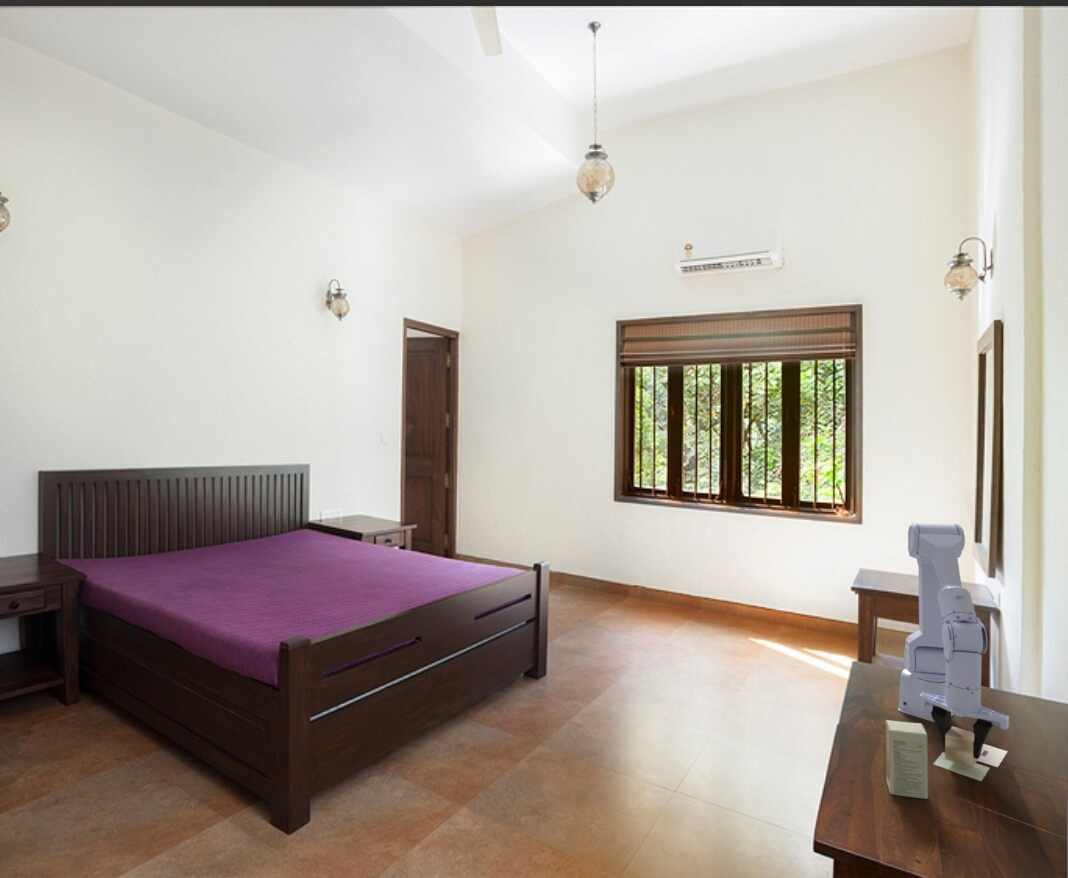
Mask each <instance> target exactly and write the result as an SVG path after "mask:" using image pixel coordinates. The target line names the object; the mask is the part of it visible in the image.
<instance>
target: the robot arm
mask: <svg viewBox="0 0 1068 878" xmlns="http://www.w3.org/2000/svg"><path fill="white" fill-rule="evenodd" d="M965 544H966V539H965V531H964V529H963V527H962V526H961V525H960V524H958V523H955V524H946V523H945V524H944V523H942V524H941V523H917V522H912V523H911V524H910V525H909V527H908V530H907V550H908V555H909V557H911V558H914V559H916V562H917V566H918V620H919V621H918V625H919V627H918V629H917V630H916V631H914V632H913V633H911V634H909V635H908V636H906V638H905V643H904V644H905V646H904V651H903V652H904V653H903V661H904V666H905V668H904V669H903V670H902V672H901V674H900V676H899V678H900V679H899V687H898V688H899V689H898V690H899V691H898V693H899V694H898V708H897V711H898V712H900V713H903V714H907V715H910V716H913V717H916V718H918V719H919V718H920V719H923V720H927V721H930V722H933V723H935V726H936V727H937V729H938V732H939V735H940V740H941V742H942V748H943V749H945V734H946V733H947V732H948V731H949V730H950V728H951V724H952V723H951V721H952V717H953V716H956V717H960V718H964V717H966V718H969V719H972V720H973V719H974V720H976V721H975V722H974V723H973V725H972V728H973V729H972V730H973V733H974V758H976V759H978V758H979V757H980V755H981V750H982V746H983V744H985V741H986V738H987V737H988V734H989V733H990V732H991V730H992V728H993V727H994V726H996V727H997V726H998V727H999V729H1002V730H1005V731H1006V730H1008V728H1009V727H1010V726H1009V725H1010V722H1009V721H1010V716H1009V715H1006V714H1002V713H999V712H997V711H995V710H992V709H990V708H988V707H985V706H983V705H982V704H981V702H982V701H981V699H982V698H981V697H982V696H981V695H982V661H983V659H982V657H983V656H982V655H984V654H985V653H987V650H988V634H987V630H986V628H985V627H986V626H985V625H984V623H983V622H982V620H981V618H980V617H977V615H976V610H975V607H974V606H975V605H974V603H973V599H972V596H971V593H970V591H969V590H968V589H967V588H964V587H962V579H961V574H960V566H959V558H961V555H962V553H963V551H964V548H965Z"/></svg>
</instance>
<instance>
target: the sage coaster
mask: <svg viewBox="0 0 1068 878" xmlns="http://www.w3.org/2000/svg"><path fill="white" fill-rule="evenodd" d="M933 765H934V766H936V767H938V768H939V767H940V768H942V769H944V770H945V769H946V770H947V771H951V772H954V773H957V774H959V775H962V776H965V777H968V778H970V779H974V780H977V781H979V782H982V781H983V779H984V778H985V777H986V775H987V774H988V772H989V770H990V769H991V768H990V766H989V767H988V766H985V765H983V764H980V763H977V762H976V763H975V765H974V766H973V768H969V767H966V766H963V765H960V764H957V763H954V762H952V761H949V760H946V759H945V751H944V752H941V754H940V755H939V756H938V757H937V759H936V760H935V761H934V763H933Z"/></svg>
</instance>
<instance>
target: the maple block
mask: <svg viewBox="0 0 1068 878" xmlns="http://www.w3.org/2000/svg"><path fill="white" fill-rule="evenodd" d="M944 753H945V759H946V760H949V761H952V762H954V763H957V764H960V765H963V766H966V767H969V768H973V766H974V765H975V763H977V762H978V761H977V760H978V759H976V758H974V731H973V732H972V731H969V730H966V729H962V728H959V727H957V726H952V725H951V726H950V730H949V731H948V732H947V733H946V734H945V748H944Z"/></svg>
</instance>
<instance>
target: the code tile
mask: <svg viewBox="0 0 1068 878" xmlns="http://www.w3.org/2000/svg"><path fill="white" fill-rule="evenodd" d="M1007 753H1008V750H1004V749H1001V748H997V747H994V746H993V745H988V744H985V743H984V744H983V746H982V750H981V755H980V757H979V758H978V760H977V762H980V763H984V764H987V765H989V766H992V767H996V768H998V767H999V766H1000V764H1001V763H1002V761H1003V760H1004V758H1005V756H1006V755H1007Z"/></svg>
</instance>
